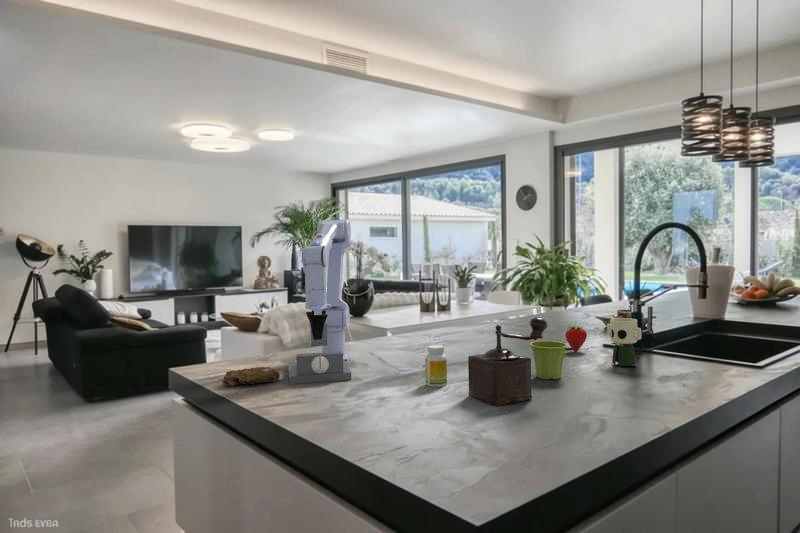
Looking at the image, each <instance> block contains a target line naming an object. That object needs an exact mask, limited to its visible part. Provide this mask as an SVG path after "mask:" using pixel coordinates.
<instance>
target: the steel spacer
mask: <svg viewBox="0 0 800 533" xmlns="http://www.w3.org/2000/svg"><path fill="white" fill-rule="evenodd" d="M309 345H310V347H322V346H327V323H326V322H325V324H324V328H323V335H322V339H321V340H314V338H313V334H312V328H311V324H310V323H309Z"/></svg>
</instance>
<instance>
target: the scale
mask: <svg viewBox="0 0 800 533" xmlns="http://www.w3.org/2000/svg"><path fill="white" fill-rule="evenodd" d="M341 381H352V371H351V370H350V368H349V365H348V364H347V362H346V360H344V359H343V353H342V351H340V352H324V353H322V352H311V353H309V352H307V353H296V354H295V361H292V362H291V361H289V362H288V382H289V385H302V384H311V383H312V384H314V383H327V382H341Z"/></svg>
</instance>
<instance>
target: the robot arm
mask: <svg viewBox="0 0 800 533" xmlns="http://www.w3.org/2000/svg"><path fill="white" fill-rule="evenodd" d="M316 226H317V227H316V230H317V234H316V235H315V236H314V237H313V239H312V241H311V242H310V244H309V245H307V246H305V247H304V248H302V251H301V263H302V268H303V270H302V271H303V274H304V281H305V282H304V283H305V284H304V287H305V305H304V307H305V308H304V309H306V310H310V311H306V312H305V314H306V317H307V319H308V321H309V325H310V324H311V328H312V334H313V338H314V340H321V339H322V335H323V328H324V324H325V322H326V323H327V346H321V353H324V352H340V351H342V353H343V359H344V360H345V361H348V360H349V358H348V356H347V354H346V330H348V328H349V326H350V320H351V316H350V307H349V305H348V303H347V302H345V301H344V300H342V285H343V267H344V256H345V250H346V249H348V248H349V247H350V244H351V235H352V229H351V228H352V227H351V222H350V220H349V219H330V220H329V219H327V220H324V219H319V221H318V222H317V225H316ZM326 268H327V269H326Z"/></svg>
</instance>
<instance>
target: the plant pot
mask: <svg viewBox="0 0 800 533" xmlns="http://www.w3.org/2000/svg"><path fill="white" fill-rule="evenodd" d="M529 345H530V346H531V350H532V354H533V360H534V367H535V368H534V370H535V375H536V377H537V378H538V379H543V380H550V379H552V380H558V379H560V378H561V377H562V371H563V362H564V357H565V352H566V349H567V348H568V344H567V343H565V342H562V341H555V340H534V341H531V342H530V343H529Z"/></svg>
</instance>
